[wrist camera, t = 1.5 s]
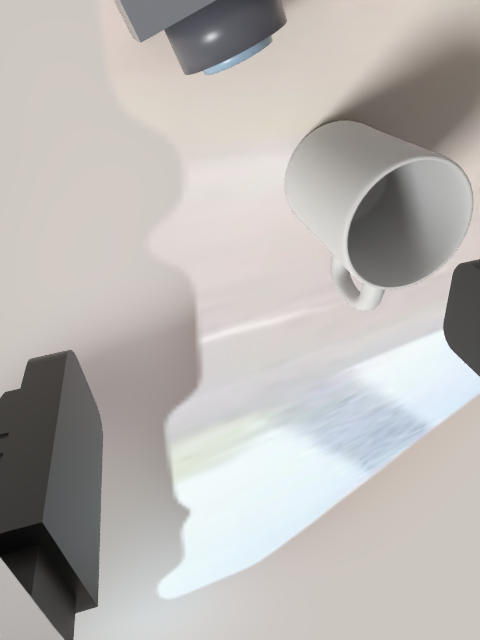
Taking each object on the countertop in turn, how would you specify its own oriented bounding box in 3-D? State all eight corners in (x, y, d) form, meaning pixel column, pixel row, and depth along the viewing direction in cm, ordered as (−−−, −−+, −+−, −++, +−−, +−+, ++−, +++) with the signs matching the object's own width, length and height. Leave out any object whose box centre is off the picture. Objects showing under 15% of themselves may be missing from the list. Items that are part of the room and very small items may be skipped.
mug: (288, 119, 32) (356, 154, 23) (395, 119, 34) (496, 151, 25) (275, 269, 38) (323, 342, 29) (365, 262, 40) (436, 329, 31)
